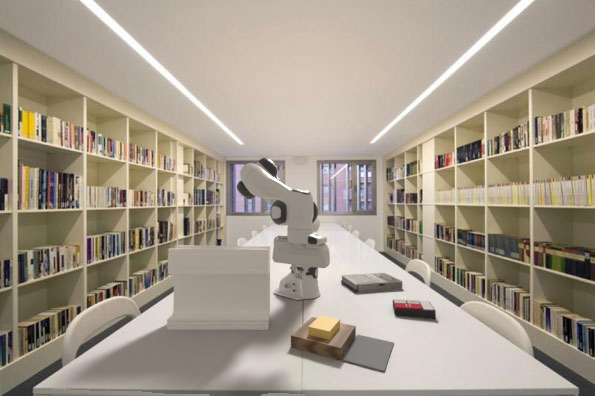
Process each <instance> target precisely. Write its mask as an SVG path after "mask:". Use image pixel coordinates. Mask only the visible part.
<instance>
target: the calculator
mask: <svg viewBox="0 0 595 396" xmlns="http://www.w3.org/2000/svg"><path fill="white" fill-rule="evenodd" d="M392 309H393V313H394V316H395V317H396V316H397V317H405V318H406V317H407V318H418V319H419V318H421V319H425V320H426V319H427V320H437V317H436V314H437V313H436V309H435V308H434V306H433V304H432V303H431V302H430V301H429V300H419V299H401V298H397V299H396V298H395V299H392Z"/></svg>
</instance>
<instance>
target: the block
mask: <svg viewBox="0 0 595 396" xmlns="http://www.w3.org/2000/svg"><path fill="white" fill-rule="evenodd" d="M167 250H168V252H167V261H168V262H167V269H168V270H167V275H173V307H172V308H173V311H172V314H171V315H170V316H169V317H168V318H167V319H166V330H167V331H171V330H172V331H176V330H177V331H179V330H181V331H182V330H183V331H193V330H194V331H195V330H196V331H197V330H199V331H201V330H202V331H207V330H208V331H209V330H212V331H215V330H217V331H224V330H225V331H226V330H227V331H228V330H229V331H230V330H231V331H233V330H234V331H235V330H236V331H237V330H238V331H240V330H241V331H242V330H243V331H244V330H245V331H246V330H248V331H249V330H250V331H252V330H255V331H262V330H263V331H264V330H266V331H268V330H269V326H270V320H271V319H270V317H271V316H270V309H271V307H270V305H271V301H270V300H271V245H185V244H183V245H176V246H175V248H168V249H167Z"/></svg>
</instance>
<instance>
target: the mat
mask: <svg viewBox="0 0 595 396" xmlns="http://www.w3.org/2000/svg"><path fill="white" fill-rule="evenodd" d="M393 347H394V342H393V341H389V340H385V339H380V338H376V337H370V336H366V335H362V334H356V337H355V338H354V340H353V342H352V343H351V345H350V346H349V348H348V350H347V351H346V353H345V354H344V356H343V358H342V359H341V361H342V362H345V363H349V364H351V365H357V366H360V367H364V368H367V369H370V370H375V371H378V372H382V373H385V372H386V369H387V365H388V362H389V360H390V356H391V353H392V350H393Z"/></svg>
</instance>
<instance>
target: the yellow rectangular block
mask: <svg viewBox="0 0 595 396" xmlns="http://www.w3.org/2000/svg"><path fill="white" fill-rule="evenodd" d="M316 318H317V319H316V320H315V321H314V322H313V323H312V324H311V325H309V326H308V335H312V336H316V337H320V338H324V339H328V340H330V338H331V337H332V336H333V335H334V334H335V332H336V331H337V330H338V329H339V327H340V323H341V318H336V317H331V316H326V315H321V314H320V315H319V316H318V317H316Z"/></svg>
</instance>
